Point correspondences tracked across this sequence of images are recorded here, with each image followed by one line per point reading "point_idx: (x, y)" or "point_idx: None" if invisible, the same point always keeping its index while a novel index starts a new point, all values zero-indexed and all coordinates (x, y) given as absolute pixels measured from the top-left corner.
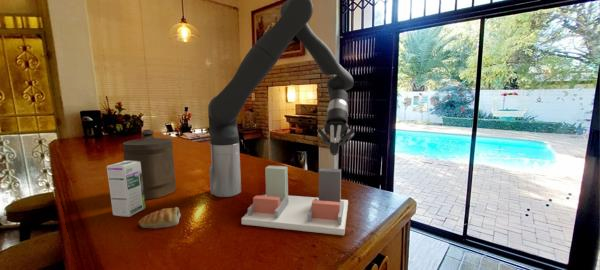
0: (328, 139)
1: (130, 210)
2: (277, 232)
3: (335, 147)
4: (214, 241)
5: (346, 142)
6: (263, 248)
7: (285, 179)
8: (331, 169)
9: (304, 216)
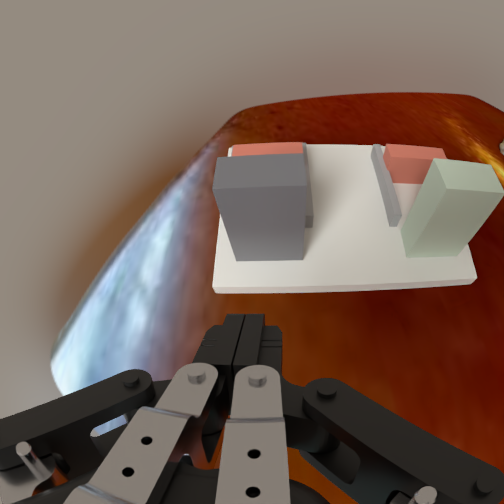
0: (307, 393)
1: None
2: (353, 144)
3: (227, 334)
4: (422, 120)
5: (115, 433)
6: (349, 113)
7: (423, 191)
8: (254, 179)
9: (319, 171)
